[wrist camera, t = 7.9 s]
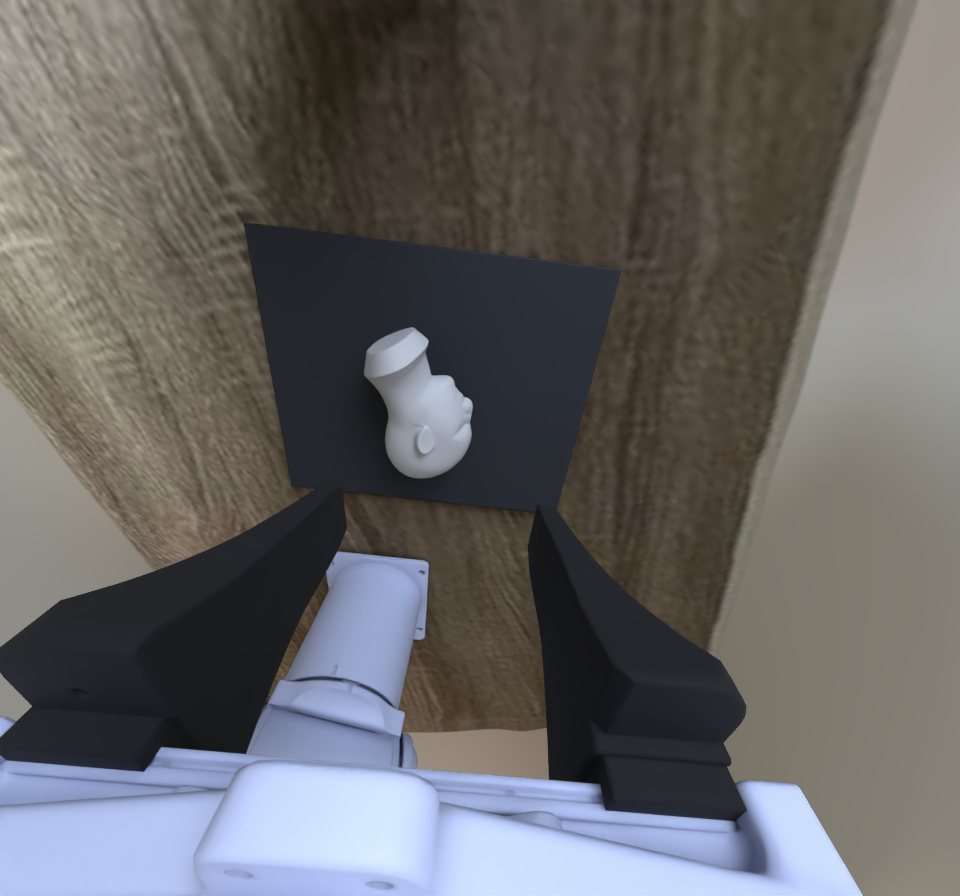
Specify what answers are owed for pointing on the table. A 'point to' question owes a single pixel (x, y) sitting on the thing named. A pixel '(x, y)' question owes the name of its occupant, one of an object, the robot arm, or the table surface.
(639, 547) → the table surface
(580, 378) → the mat
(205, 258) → the table surface
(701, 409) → the table surface
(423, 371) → the smooth white sculpture
